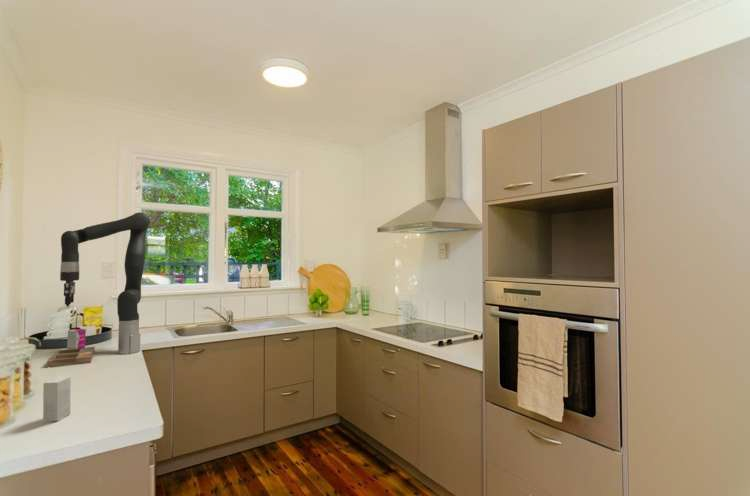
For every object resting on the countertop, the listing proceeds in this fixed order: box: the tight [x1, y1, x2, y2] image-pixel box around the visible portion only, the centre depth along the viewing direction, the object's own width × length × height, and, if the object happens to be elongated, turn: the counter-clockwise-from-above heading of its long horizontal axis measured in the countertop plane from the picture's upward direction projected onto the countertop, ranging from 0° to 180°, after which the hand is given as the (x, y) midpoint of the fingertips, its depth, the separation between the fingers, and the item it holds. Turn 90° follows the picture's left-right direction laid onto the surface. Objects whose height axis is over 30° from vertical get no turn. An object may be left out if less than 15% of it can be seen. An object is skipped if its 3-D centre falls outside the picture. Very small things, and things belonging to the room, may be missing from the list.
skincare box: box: [42, 376, 72, 423], centre depth 122 cm, size 6×4×12 cm
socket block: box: [47, 346, 95, 369], centre depth 194 cm, size 25×16×3 cm, turn 32°
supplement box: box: [66, 328, 87, 350], centre depth 213 cm, size 6×6×12 cm
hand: (69, 303), depth 195 cm, fingers open, 8 cm apart
